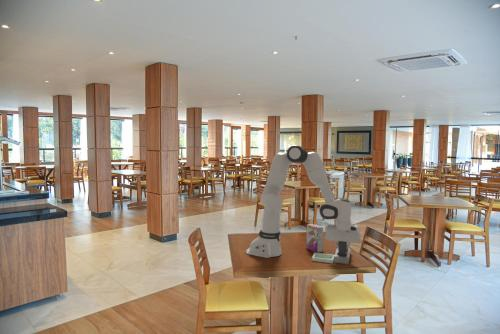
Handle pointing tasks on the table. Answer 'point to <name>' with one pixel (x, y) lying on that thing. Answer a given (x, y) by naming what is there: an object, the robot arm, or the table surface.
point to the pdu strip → (342, 257)
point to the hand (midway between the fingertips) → (342, 248)
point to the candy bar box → (314, 238)
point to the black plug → (342, 248)
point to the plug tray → (323, 257)
